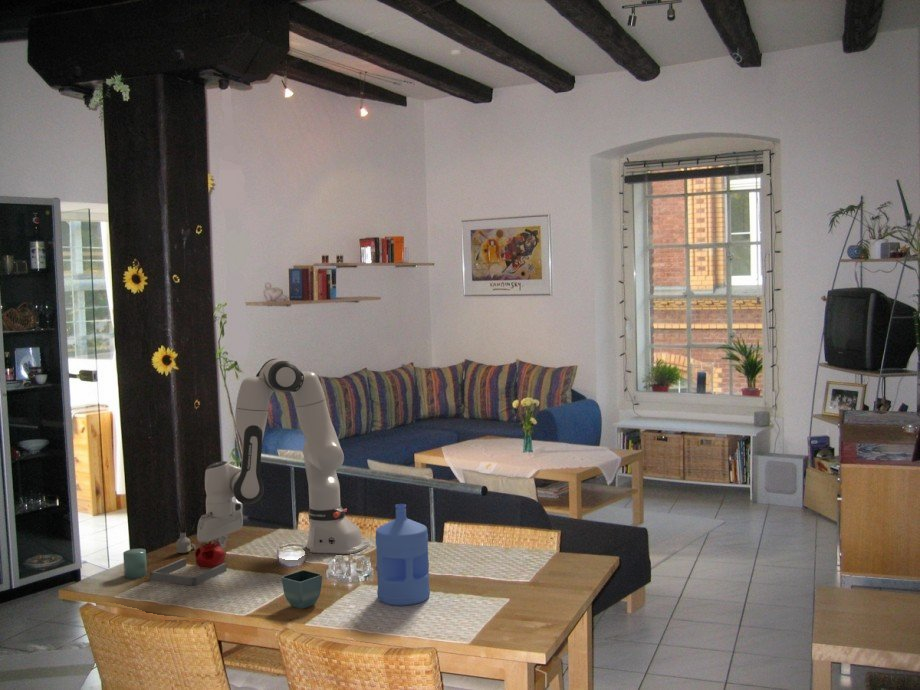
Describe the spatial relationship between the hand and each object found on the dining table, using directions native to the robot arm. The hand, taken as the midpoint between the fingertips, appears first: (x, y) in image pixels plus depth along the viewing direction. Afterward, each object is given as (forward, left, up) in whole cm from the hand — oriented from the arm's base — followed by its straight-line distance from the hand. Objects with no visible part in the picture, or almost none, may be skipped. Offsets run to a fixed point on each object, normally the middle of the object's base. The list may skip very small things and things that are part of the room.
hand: (221, 548), depth 314 cm
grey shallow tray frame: (0, +16, -4) cm, 16 cm away
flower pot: (-52, +28, -4) cm, 59 cm away
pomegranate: (0, +6, -4) cm, 8 cm away
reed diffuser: (+20, -3, -4) cm, 21 cm away
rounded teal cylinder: (+17, +23, -4) cm, 29 cm away
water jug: (-77, +12, -4) cm, 78 cm away
